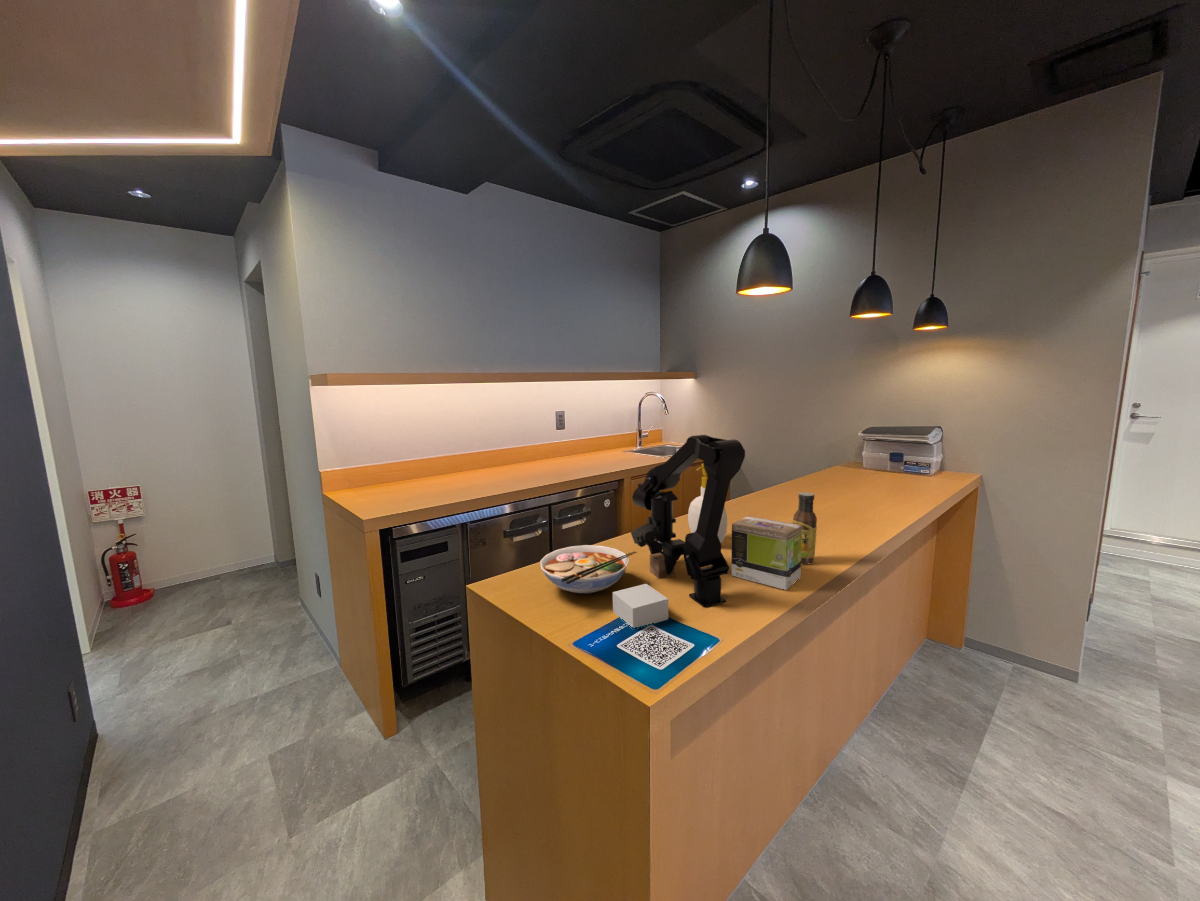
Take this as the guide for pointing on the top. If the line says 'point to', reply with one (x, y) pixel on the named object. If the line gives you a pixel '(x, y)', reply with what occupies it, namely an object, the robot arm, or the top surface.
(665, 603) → the light grey block
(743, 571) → the tea box
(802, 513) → the sauce bottle
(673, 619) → the top surface
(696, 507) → the soap bottle
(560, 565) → the ramen bowl
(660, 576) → the walnut cube
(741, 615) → the top surface
